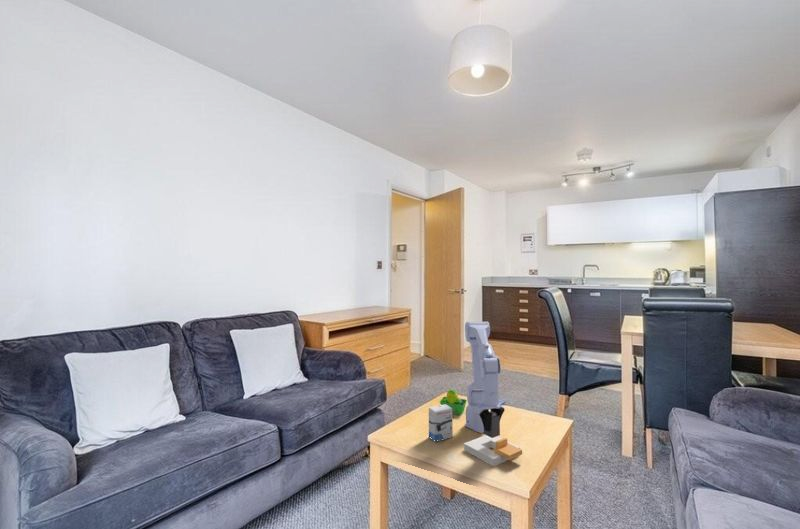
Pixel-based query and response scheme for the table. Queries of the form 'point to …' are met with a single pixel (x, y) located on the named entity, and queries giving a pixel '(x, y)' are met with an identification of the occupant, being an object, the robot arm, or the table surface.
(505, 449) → the tan slab
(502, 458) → the socket
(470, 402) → the robot arm
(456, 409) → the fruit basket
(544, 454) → the table surface
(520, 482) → the table surface
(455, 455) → the table surface
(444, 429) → the ink box
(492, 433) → the plug
